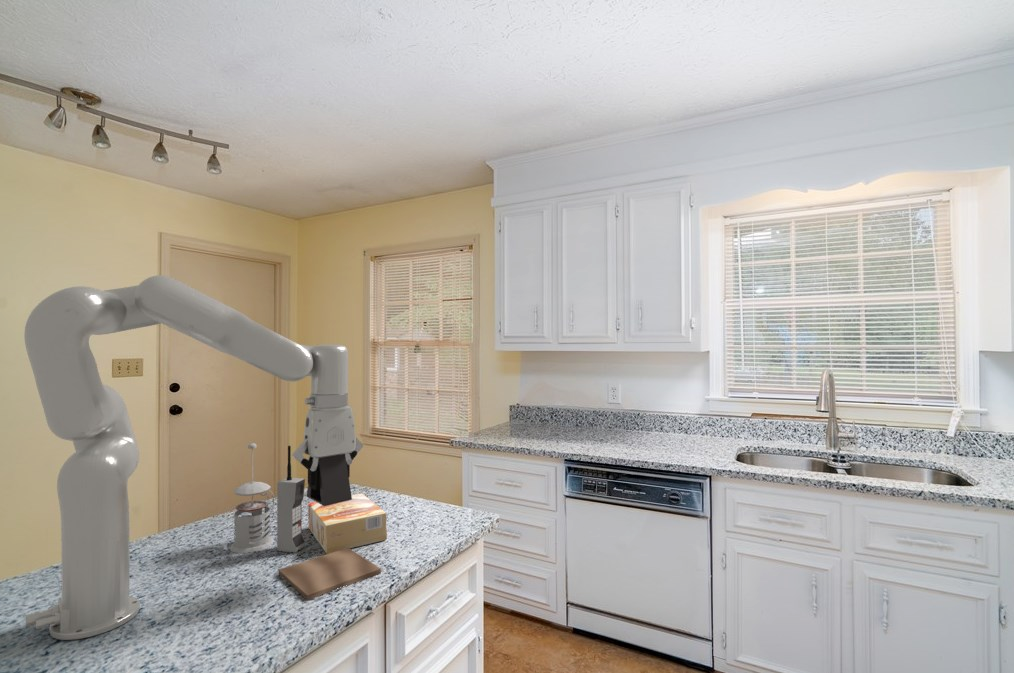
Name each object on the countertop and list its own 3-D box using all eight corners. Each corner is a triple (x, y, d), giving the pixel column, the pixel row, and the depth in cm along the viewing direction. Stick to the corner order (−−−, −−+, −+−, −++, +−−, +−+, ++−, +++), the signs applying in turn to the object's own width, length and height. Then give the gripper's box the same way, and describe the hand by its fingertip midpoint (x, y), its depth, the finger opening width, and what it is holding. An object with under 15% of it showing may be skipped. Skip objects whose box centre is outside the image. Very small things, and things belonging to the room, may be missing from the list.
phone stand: (351, 500, 107) (352, 443, 107) (324, 506, 103) (325, 448, 103) (332, 490, 114) (333, 437, 114) (306, 496, 109) (306, 441, 109)
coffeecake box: (325, 524, 118) (307, 502, 134) (326, 555, 118) (307, 529, 134) (387, 511, 126) (362, 492, 142) (387, 540, 126) (363, 517, 142)
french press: (219, 550, 120) (219, 446, 120) (255, 532, 131) (255, 436, 131) (254, 555, 118) (254, 448, 118) (287, 535, 129) (287, 438, 129)
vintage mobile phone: (295, 553, 118) (295, 447, 118) (277, 551, 119) (277, 446, 119) (305, 546, 122) (305, 444, 122) (286, 545, 123) (287, 443, 123)
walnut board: (307, 600, 97) (307, 595, 97) (278, 574, 108) (278, 569, 108) (380, 573, 109) (380, 568, 109) (347, 551, 119) (347, 547, 119)
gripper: (296, 407, 100) (295, 498, 100) (374, 400, 112) (373, 481, 112) (281, 403, 105) (281, 489, 105) (357, 397, 117) (357, 474, 117)
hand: (329, 484), depth 108 cm, fingers closed on phone stand, 6 cm apart
